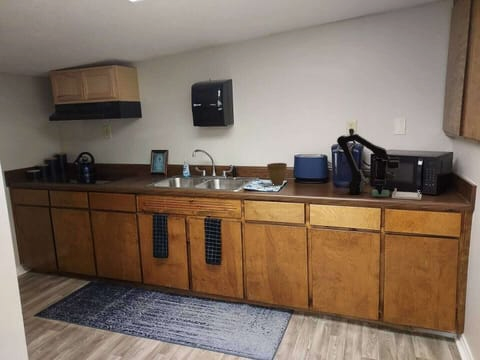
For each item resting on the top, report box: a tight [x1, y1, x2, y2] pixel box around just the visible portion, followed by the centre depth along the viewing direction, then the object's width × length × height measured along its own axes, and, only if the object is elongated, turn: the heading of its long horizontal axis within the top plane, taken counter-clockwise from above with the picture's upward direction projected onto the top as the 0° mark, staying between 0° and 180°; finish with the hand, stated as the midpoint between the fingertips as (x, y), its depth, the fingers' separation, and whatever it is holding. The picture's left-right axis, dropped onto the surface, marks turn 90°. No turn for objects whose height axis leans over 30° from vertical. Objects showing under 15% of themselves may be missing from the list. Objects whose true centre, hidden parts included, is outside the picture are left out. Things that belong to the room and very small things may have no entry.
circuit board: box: [371, 189, 390, 197], centre depth 225 cm, size 10×6×3 cm, turn 67°
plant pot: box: [266, 162, 288, 186], centre depth 269 cm, size 15×15×16 cm
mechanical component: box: [359, 176, 371, 193], centre depth 235 cm, size 3×10×10 cm, turn 36°
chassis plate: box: [391, 187, 422, 201], centre depth 218 cm, size 16×12×4 cm
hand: (380, 192), depth 225 cm, fingers open, 9 cm apart
